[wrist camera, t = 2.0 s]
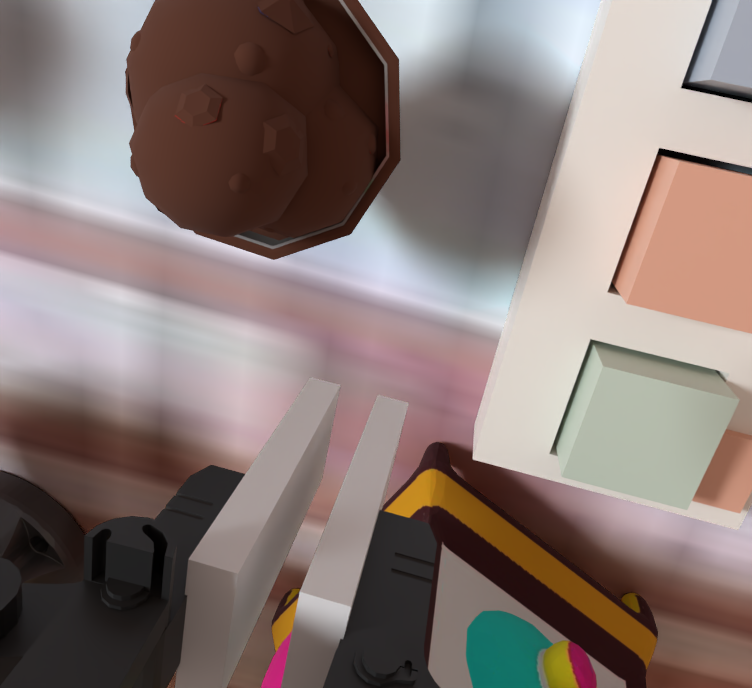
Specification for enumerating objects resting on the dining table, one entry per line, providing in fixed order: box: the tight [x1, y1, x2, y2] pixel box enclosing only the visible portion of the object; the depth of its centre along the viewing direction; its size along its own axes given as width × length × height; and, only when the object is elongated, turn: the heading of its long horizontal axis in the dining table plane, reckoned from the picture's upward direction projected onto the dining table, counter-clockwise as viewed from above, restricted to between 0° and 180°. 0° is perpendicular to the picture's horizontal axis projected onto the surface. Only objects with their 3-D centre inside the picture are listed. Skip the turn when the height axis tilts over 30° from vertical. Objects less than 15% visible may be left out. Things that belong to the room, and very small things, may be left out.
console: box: [473, 0, 752, 530], centre depth 29 cm, size 28×14×5 cm, turn 169°
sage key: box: [555, 339, 740, 510], centre depth 31 cm, size 6×6×4 cm
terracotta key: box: [611, 154, 752, 334], centre depth 27 cm, size 6×6×4 cm
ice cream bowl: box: [125, 0, 400, 260], centre depth 26 cm, size 11×11×15 cm
